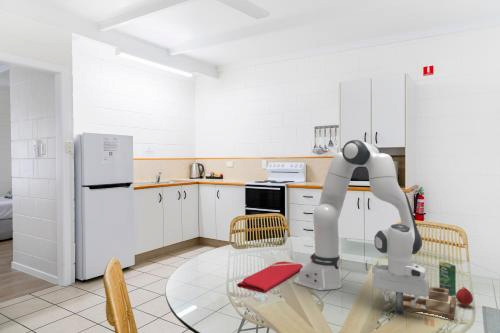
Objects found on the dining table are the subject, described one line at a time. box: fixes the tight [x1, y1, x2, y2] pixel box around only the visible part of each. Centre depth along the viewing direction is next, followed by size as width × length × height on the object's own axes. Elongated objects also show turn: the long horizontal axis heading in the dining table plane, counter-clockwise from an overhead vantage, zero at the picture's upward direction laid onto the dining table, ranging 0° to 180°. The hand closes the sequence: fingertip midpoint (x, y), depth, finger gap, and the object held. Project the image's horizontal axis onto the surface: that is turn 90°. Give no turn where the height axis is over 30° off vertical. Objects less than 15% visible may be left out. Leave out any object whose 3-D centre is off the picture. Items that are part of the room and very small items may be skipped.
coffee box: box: [438, 260, 457, 297], centre depth 161 cm, size 8×3×13 cm, turn 6°
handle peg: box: [395, 292, 404, 316], centre depth 138 cm, size 3×3×10 cm
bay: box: [403, 294, 457, 321], centre depth 141 cm, size 19×12×5 cm, turn 58°
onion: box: [455, 285, 474, 307], centre depth 145 cm, size 6×6×8 cm
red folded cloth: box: [236, 261, 304, 294], centre depth 180 cm, size 16×41×4 cm, turn 147°
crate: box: [425, 285, 452, 314], centre depth 139 cm, size 8×8×8 cm
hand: (400, 303), depth 138 cm, fingers open, 8 cm apart
